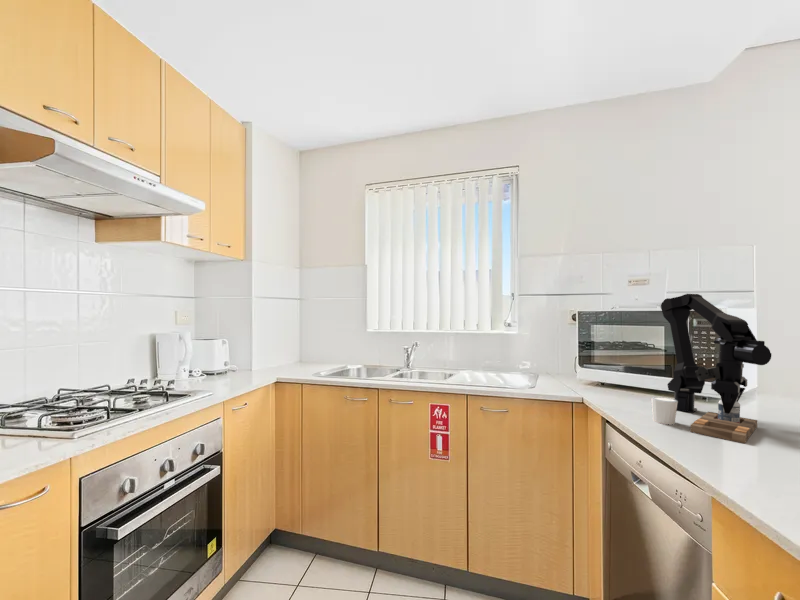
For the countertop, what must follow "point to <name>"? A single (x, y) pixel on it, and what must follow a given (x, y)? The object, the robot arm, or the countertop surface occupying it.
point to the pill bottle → (732, 416)
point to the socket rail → (724, 427)
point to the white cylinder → (664, 410)
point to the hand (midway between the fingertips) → (728, 411)
